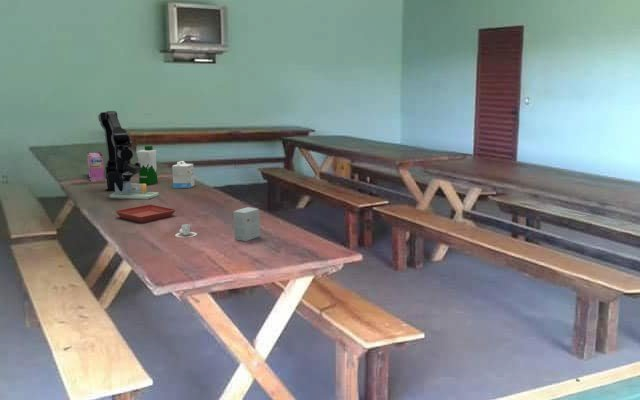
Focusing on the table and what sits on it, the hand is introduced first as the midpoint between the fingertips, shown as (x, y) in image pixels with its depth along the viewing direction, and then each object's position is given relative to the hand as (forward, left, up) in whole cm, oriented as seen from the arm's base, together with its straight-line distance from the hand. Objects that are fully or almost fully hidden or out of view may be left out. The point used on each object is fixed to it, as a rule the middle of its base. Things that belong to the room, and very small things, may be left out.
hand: (124, 190), depth 308 cm
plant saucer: (+32, -38, -4) cm, 50 cm away
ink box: (+18, +29, -3) cm, 34 cm away
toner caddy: (+4, 0, -1) cm, 4 cm away
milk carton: (-5, +34, -3) cm, 34 cm away
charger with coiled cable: (+62, -59, -4) cm, 86 cm away
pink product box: (-44, +46, -3) cm, 64 cm away
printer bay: (-2, +12, -3) cm, 13 cm away
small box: (+85, -62, -3) cm, 105 cm away
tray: (+5, 0, -3) cm, 6 cm away
